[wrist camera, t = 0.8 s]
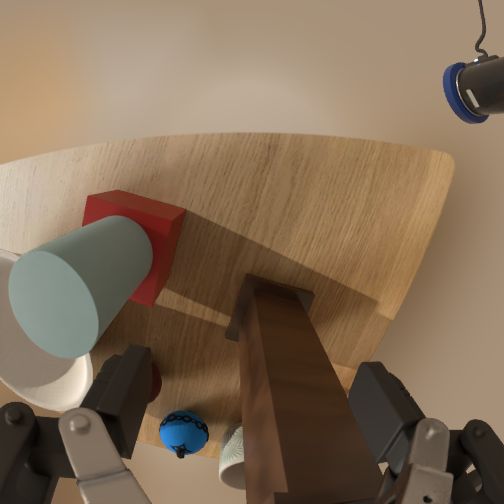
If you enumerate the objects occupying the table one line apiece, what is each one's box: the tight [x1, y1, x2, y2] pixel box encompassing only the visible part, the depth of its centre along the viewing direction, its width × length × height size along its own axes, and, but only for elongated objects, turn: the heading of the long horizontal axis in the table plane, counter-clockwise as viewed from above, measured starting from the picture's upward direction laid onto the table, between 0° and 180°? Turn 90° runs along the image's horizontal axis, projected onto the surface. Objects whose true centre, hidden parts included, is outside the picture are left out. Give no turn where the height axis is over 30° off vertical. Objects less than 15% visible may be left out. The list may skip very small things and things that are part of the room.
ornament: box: [159, 411, 209, 458], centre depth 42 cm, size 9×9×10 cm
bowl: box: [0, 249, 93, 411], centre depth 35 cm, size 27×27×10 cm
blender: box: [9, 190, 186, 359], centre depth 27 cm, size 10×10×23 cm
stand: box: [225, 274, 383, 504], centre depth 27 cm, size 10×10×32 cm
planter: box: [219, 421, 246, 491], centre depth 44 cm, size 12×12×11 cm
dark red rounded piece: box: [148, 362, 162, 403], centre depth 40 cm, size 7×8×7 cm
